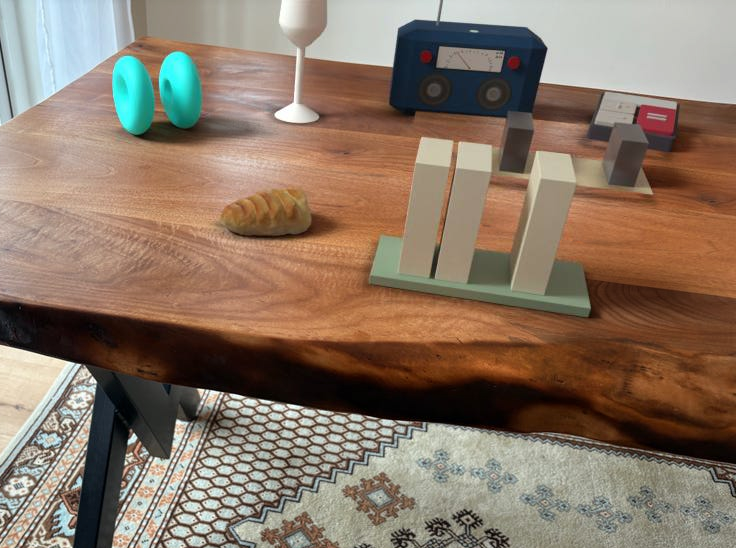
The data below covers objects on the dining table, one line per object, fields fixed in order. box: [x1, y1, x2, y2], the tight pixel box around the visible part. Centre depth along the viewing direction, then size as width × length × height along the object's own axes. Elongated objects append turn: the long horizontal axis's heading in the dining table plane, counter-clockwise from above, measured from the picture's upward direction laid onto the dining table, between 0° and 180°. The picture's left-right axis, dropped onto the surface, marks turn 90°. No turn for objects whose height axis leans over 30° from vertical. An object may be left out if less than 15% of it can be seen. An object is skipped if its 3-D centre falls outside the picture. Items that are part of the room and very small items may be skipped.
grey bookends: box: [491, 111, 654, 195], centre depth 96 cm, size 20×10×6 cm, turn 76°
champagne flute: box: [274, 0, 328, 124], centre depth 107 cm, size 7×7×24 cm
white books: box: [368, 136, 592, 318], centre depth 72 cm, size 20×9×12 cm, turn 76°
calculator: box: [586, 91, 681, 153], centre depth 111 cm, size 11×4×15 cm
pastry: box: [220, 185, 312, 237], centre depth 82 cm, size 9×7×4 cm
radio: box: [388, 0, 549, 119], centre depth 112 cm, size 21×9×20 cm, turn 82°
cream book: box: [510, 150, 578, 295], centre depth 70 cm, size 3×7×11 cm, turn 166°
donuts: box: [112, 51, 203, 136], centre depth 104 cm, size 10×10×10 cm
